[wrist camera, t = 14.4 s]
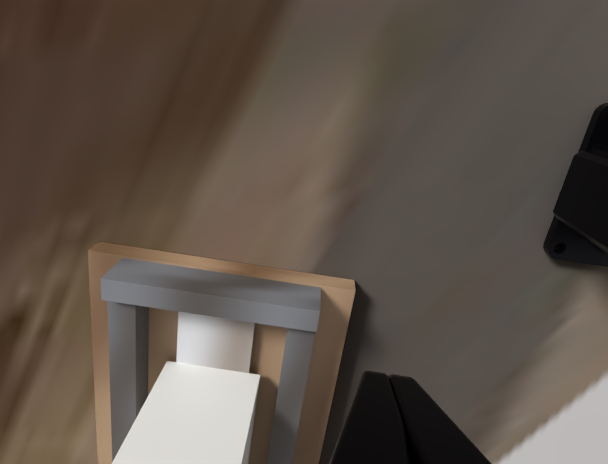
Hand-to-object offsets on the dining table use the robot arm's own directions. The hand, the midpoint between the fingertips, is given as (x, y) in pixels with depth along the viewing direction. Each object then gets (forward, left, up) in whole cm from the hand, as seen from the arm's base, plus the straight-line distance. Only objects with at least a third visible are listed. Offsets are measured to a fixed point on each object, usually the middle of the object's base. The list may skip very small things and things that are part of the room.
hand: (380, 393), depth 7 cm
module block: (+5, +13, -11) cm, 17 cm away
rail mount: (+5, +13, -12) cm, 18 cm away
